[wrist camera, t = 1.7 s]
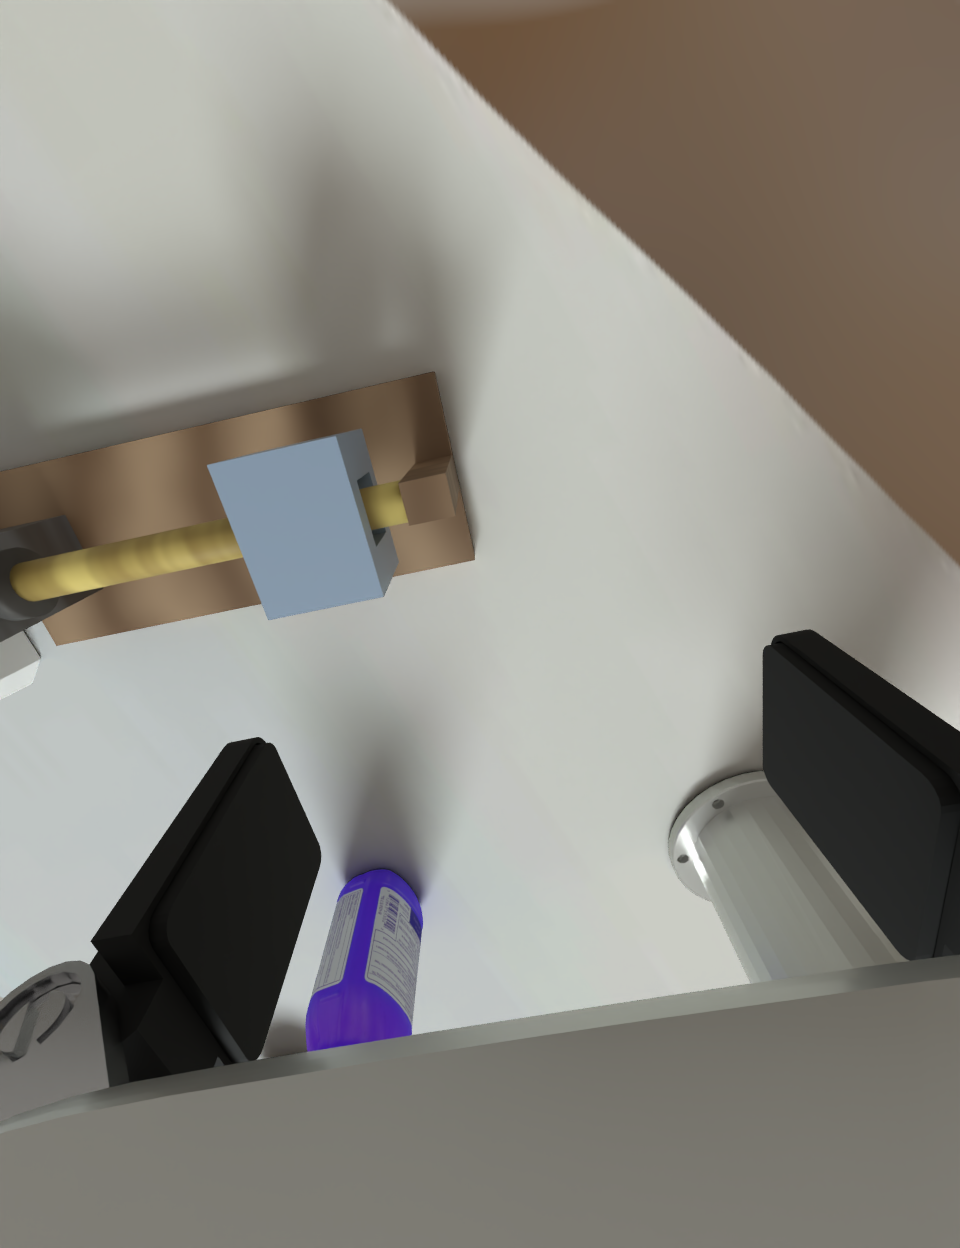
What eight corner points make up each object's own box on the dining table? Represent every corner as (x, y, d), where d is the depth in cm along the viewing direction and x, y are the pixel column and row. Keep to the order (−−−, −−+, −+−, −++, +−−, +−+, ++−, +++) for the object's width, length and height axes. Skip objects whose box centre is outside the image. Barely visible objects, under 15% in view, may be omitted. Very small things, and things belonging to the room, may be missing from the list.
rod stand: (434, 372, 28) (418, 361, 19) (474, 554, 32) (475, 614, 23) (-21, 477, 30) (-227, 511, 21) (70, 637, 33) (-72, 722, 25)
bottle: (328, 876, 42) (239, 1174, 26) (391, 852, 41) (339, 1144, 25) (376, 933, 44) (322, 1236, 28) (436, 911, 43) (415, 1210, 27)
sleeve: (361, 428, 24) (335, 436, 19) (399, 562, 27) (383, 596, 22) (256, 452, 24) (206, 465, 20) (303, 581, 27) (268, 620, 22)
